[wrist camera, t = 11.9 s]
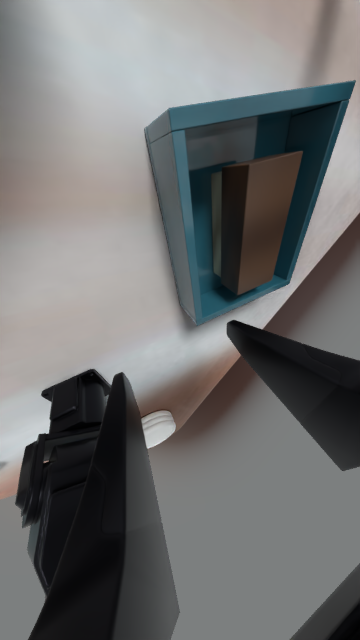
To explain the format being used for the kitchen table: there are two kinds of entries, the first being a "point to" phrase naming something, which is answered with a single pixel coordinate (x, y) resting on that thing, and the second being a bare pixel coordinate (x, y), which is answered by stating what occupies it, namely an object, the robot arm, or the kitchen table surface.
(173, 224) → the open box
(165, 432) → the coaster
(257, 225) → the tall brown box
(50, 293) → the kitchen table surface
